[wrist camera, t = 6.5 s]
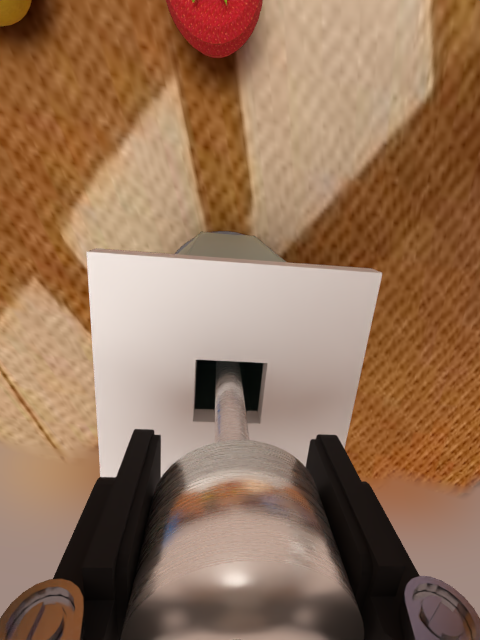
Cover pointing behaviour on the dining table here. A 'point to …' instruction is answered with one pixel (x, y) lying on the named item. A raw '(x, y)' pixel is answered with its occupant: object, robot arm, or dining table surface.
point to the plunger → (239, 544)
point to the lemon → (13, 11)
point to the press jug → (224, 343)
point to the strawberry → (215, 23)
